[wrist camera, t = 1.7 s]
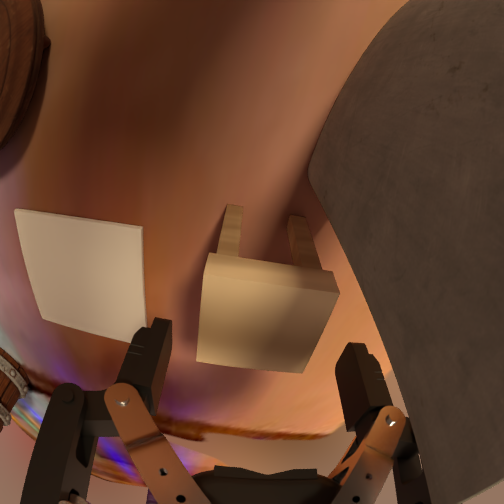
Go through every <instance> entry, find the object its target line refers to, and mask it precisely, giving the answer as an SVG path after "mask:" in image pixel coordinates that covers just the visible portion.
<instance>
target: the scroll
mask: <svg viewBox="0 0 504 504" xmlns="http://www.w3.org/2000/svg"><path fill="white" fill-rule="evenodd" d="M50 43H51V40H50V39H49V38H48V37H47V36H44V15H43V9H42V4H41V1H40V0H0V150H1V149H2V148H3V147H4V146H5V145H6V144H7V143H8V141H9V140H10V139H11V137H12V136H13V135H14V133H15V131H16V130H17V128H18V126H19V125H20V123H21V121H22V119H23V117H24V115H25V113H26V110H27V108H28V105H29V103H30V100H31V97H32V94H33V92H34V88H35V85H36V82H37V78H38V74H39V69H40V64H41V59H42V53H43V49H45V48H46V47H48V46H49V45H50Z"/></svg>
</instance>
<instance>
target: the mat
mask: <svg viewBox="0 0 504 504" xmlns="http://www.w3.org/2000/svg"><path fill="white" fill-rule="evenodd" d="M14 214H15V219H16V225H17V230H18V235H19V240H20V244H21V249H22V253H23V257H24V261H25V265H26V269H27V272H28V276H29V279H30V283H31V286H32V289H33V293H34V296H35V299H36V302H37V305H38V308H39V311H40V314H41V316H42V319H45V320H48V321H51V322H54V323H58V324H61V325H64V326H67V327H71V328H74V329H78V330H81V331H85V332H89V333H92V334H96V335H100V336H104V337H108V338H112V339H116V340H120V341H124V342H128V343H131V341H132V338H133V336H134V334H135V333H136V332H137V331H138V330H139V329H140V328H141V327H147V316H146V302H145V284H144V258H143V227H142V226H135V225H128V224H122V223H115V222H108V221H101V220H95V219H88V218H81V217H74V216H67V215H60V214H53V213H46V212H39V211H32V210H25V209H18V208H17V209H15V210H14Z"/></svg>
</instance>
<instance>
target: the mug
mask: <svg viewBox="0 0 504 504" xmlns="http://www.w3.org/2000/svg"><path fill="white" fill-rule="evenodd" d="M28 383H29V380H28V377H27V375H26V373H25V372H24V370H23V369H22V368H19V364H18V363H17V362H16V361H15V360H14V359H13V358H12V357H11V356H10V355H9V354H8V353H7V352H5V351H4V350H3V349H2V348H0V432H1V431H2V429H3V425H4V426H8V425H10V421H11V415H10V412H11V410H12V408H13V407H14V405H15V403H16V402H17V400H18V399H21V398H25V397H26V394H27V392H28V386H27V385H28Z"/></svg>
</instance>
